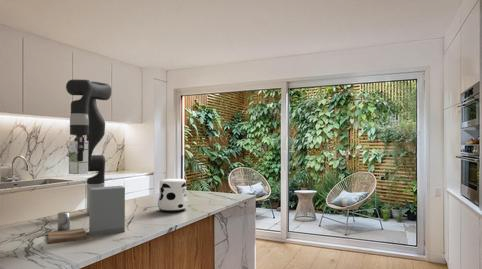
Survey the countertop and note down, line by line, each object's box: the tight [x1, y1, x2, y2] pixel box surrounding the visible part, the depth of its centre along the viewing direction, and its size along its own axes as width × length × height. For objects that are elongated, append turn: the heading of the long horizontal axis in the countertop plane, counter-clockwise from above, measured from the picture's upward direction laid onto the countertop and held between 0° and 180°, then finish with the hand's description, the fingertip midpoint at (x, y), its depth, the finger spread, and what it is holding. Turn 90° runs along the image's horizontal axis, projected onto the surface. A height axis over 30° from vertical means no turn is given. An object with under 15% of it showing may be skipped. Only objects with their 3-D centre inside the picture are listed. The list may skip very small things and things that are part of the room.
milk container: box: [157, 178, 188, 213], centre depth 197 cm, size 17×17×18 cm
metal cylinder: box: [57, 211, 71, 231], centre depth 153 cm, size 5×5×8 cm
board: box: [48, 227, 88, 244], centre depth 142 cm, size 14×14×1 cm
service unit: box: [88, 185, 126, 237], centre depth 150 cm, size 9×14×20 cm, turn 120°
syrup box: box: [68, 140, 89, 175], centre depth 145 cm, size 6×6×14 cm
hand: (79, 161), depth 145 cm, fingers closed on syrup box, 8 cm apart
